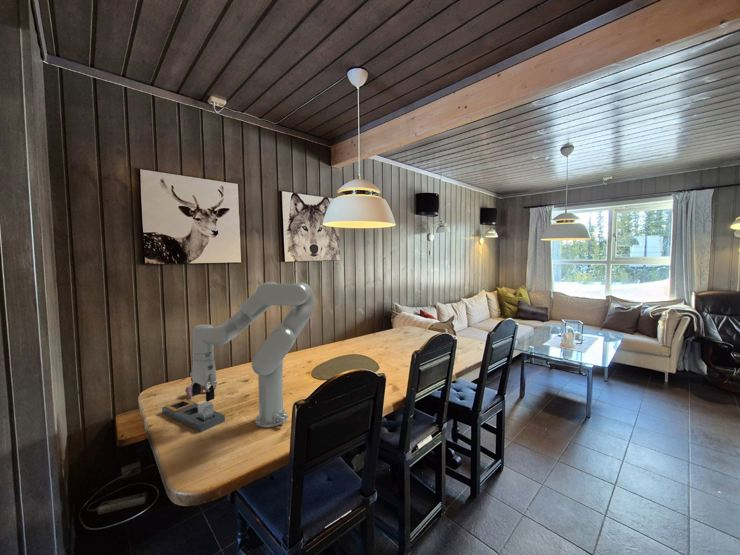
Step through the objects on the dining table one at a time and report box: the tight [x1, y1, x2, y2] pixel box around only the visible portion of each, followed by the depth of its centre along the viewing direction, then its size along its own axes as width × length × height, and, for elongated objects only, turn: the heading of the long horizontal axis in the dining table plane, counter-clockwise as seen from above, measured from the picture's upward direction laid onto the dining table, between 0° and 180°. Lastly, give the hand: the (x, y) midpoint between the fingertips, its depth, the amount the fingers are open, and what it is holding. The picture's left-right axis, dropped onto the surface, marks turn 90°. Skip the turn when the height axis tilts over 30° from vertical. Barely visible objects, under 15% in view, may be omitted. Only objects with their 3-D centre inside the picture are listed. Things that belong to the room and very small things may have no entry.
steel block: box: [198, 400, 214, 422], centre depth 126 cm, size 4×4×8 cm
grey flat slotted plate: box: [161, 398, 226, 433], centre depth 131 cm, size 30×10×3 cm, turn 58°
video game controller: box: [185, 383, 207, 400], centre depth 153 cm, size 10×5×7 cm, turn 141°
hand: (203, 397), depth 125 cm, fingers open, 9 cm apart
